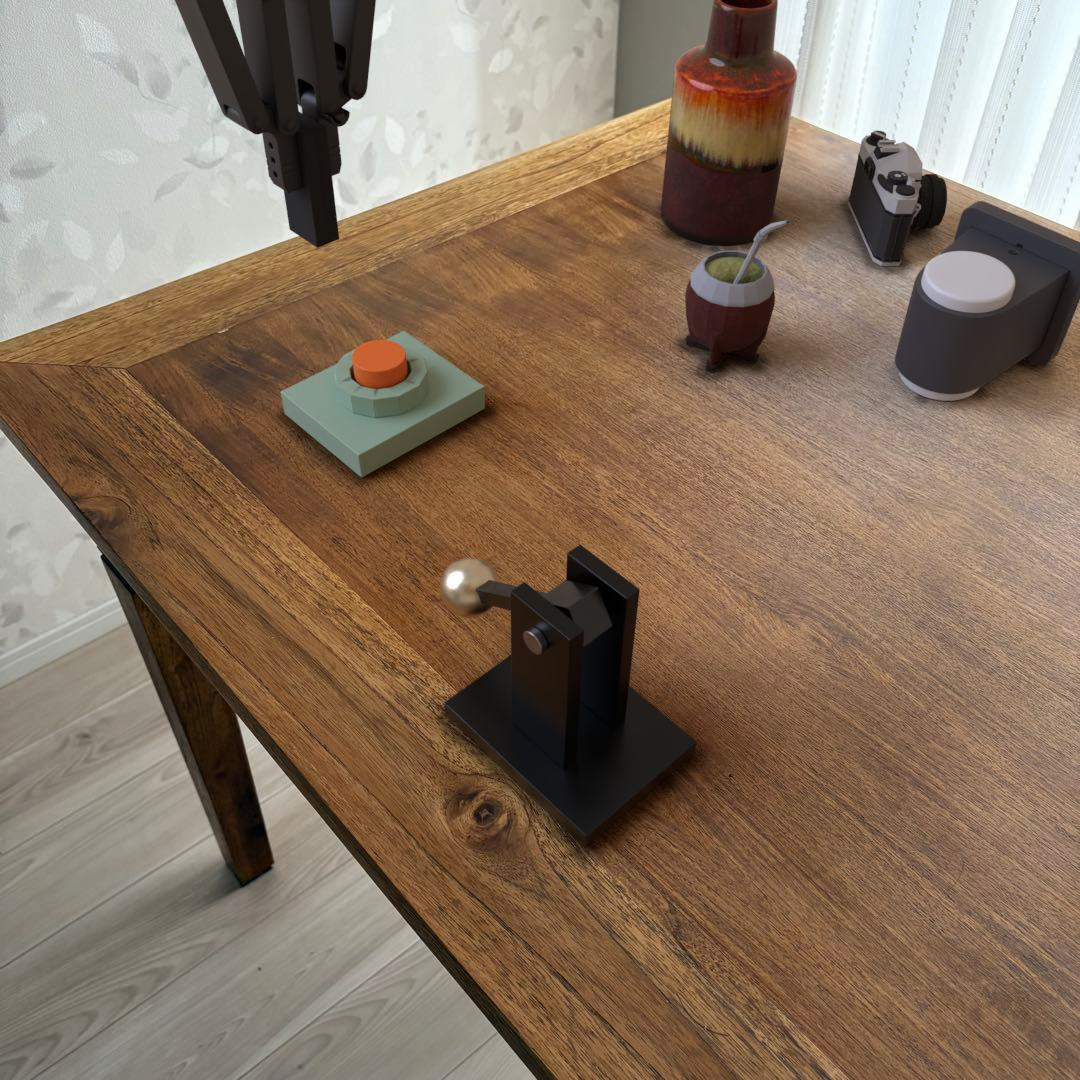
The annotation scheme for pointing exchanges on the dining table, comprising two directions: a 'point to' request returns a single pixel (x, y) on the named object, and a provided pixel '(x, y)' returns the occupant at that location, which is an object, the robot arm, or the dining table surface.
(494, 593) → the switch lever
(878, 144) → the camera
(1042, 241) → the light fixture
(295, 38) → the robot arm
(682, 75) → the vase
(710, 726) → the dining table surface
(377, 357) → the button
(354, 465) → the button box
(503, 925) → the dining table surface
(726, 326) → the mate gourd
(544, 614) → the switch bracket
